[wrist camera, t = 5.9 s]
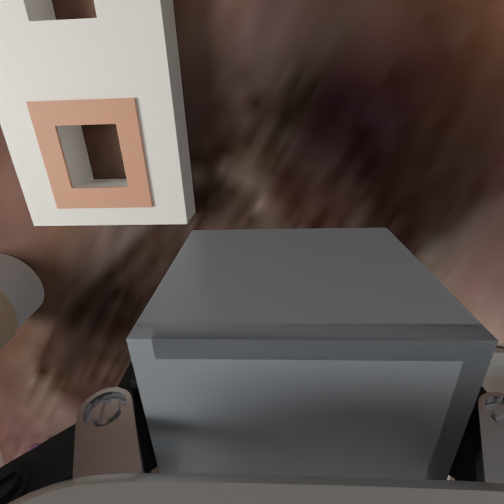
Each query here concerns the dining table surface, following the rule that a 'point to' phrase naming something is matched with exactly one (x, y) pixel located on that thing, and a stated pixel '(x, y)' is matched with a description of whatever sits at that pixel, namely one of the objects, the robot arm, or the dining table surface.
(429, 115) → the dining table surface
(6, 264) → the coffee cup
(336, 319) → the cover
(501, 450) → the robot arm
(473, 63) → the dining table surface
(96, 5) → the board
